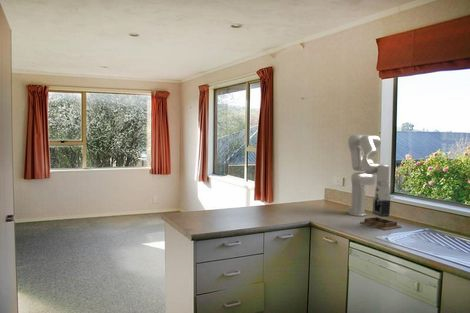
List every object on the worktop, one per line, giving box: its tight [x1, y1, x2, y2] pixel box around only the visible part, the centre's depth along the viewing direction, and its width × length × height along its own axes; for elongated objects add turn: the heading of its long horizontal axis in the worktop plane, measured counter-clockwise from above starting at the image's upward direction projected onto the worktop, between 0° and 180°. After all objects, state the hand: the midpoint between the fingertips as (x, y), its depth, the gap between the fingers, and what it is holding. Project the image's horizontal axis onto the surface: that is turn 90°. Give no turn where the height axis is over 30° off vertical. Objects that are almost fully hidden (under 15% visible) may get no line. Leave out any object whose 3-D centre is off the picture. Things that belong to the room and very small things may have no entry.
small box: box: [371, 200, 391, 218], centre depth 251 cm, size 11×6×10 cm, turn 12°
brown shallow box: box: [359, 216, 402, 231], centre depth 252 cm, size 20×16×4 cm
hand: (381, 209), depth 251 cm, fingers closed on small box, 7 cm apart
